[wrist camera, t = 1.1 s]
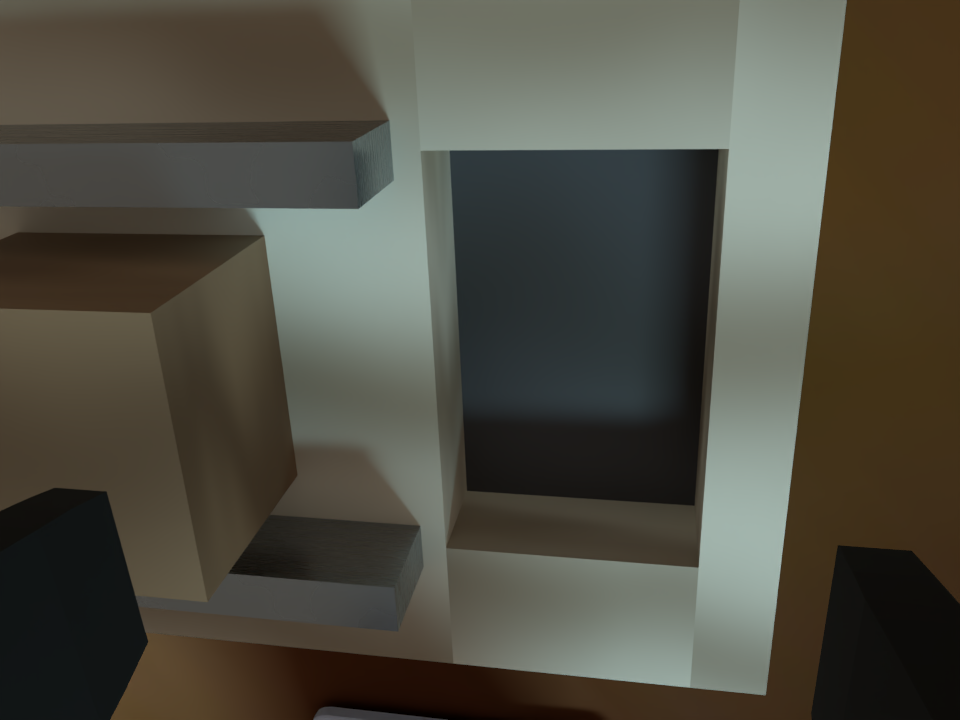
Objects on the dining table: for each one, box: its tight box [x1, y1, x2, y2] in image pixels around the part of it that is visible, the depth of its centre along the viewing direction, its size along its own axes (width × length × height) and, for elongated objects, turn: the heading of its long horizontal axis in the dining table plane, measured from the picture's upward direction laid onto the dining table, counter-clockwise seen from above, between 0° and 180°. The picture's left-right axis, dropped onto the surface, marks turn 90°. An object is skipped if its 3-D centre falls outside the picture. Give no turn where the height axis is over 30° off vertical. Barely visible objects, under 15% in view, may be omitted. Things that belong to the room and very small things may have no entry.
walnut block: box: [0, 232, 298, 602], centre depth 16 cm, size 5×5×4 cm
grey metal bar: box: [0, 120, 424, 632], centre depth 17 cm, size 9×10×2 cm
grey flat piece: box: [0, 0, 847, 695], centre depth 19 cm, size 14×28×2 cm, turn 93°
